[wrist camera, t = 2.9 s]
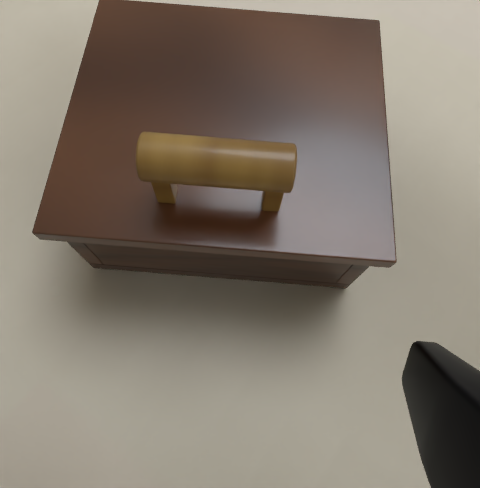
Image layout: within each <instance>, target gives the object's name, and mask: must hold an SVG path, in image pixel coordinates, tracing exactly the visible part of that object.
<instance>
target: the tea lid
mask: <svg viewBox="0 0 480 488" xmlns="http://www.w3.org/2000/svg"><path fill="white" fill-rule="evenodd" d="M32 233H33V234H34V235H35V236H37V237H38V238H39V239H41V240H53V241H65V242H78V243H90V244H103V245H115V246H127V247H140V248H152V249H165V250H177V251H189V252H202V253H214V254H227V255H239V256H251V257H264V258H276V259H289V260H301V261H313V262H326V263H338V264H351V265H363V266H375V267H388V268H389V267H391V266H392V265H394V264H395V263H396V246H395V232H394V218H393V204H392V190H391V176H390V162H389V148H388V134H387V120H386V106H385V92H384V78H383V64H382V50H381V36H380V22H379V20H368V19H355V18H343V17H330V16H318V15H305V14H292V13H280V12H267V11H255V10H242V9H230V8H217V7H204V6H192V5H179V4H167V3H154V2H141V1H129V0H99V3H98V6H97V10H96V13H95V17H94V20H93V24H92V27H91V31H90V34H89V37H88V41H87V44H86V48H85V51H84V55H83V58H82V62H81V65H80V69H79V72H78V75H77V79H76V82H75V86H74V89H73V93H72V96H71V100H70V103H69V107H68V110H67V114H66V117H65V120H64V124H63V127H62V131H61V134H60V138H59V141H58V145H57V148H56V152H55V155H54V159H53V162H52V165H51V169H50V172H49V176H48V179H47V183H46V186H45V190H44V193H43V197H42V200H41V204H40V207H39V210H38V214H37V217H36V221H35V224H34V228H33V231H32Z"/></svg>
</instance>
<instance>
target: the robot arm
mask: <svg viewBox="0 0 480 488" xmlns="http://www.w3.org/2000/svg"><path fill="white" fill-rule="evenodd" d="M402 385H403V389H404V393H405V397H406V401H407V405H408V409H409V413H410V417H411V421H412V425H413V429H414V433H415V437H416V441H417V445H418V449H419V453H420V456H421V460H422V463H423V466H424V469H425V472H426V475H427V478H428V481H429V483H430V486H431V488H480V371H479V370H477V369H475V368H474V367H472V366H471V365H469V364H468V363H466V362H465V361H463V360H462V359H460V358H459V357H457V356H456V355H454V354H453V353H451V352H450V351H448V350H447V349H445V348H444V347H442V346H441V345H439V344H437V343H434V342H423V341H416V342H414V343H413V344H412V346H411V348H410V351H409V355H408V358H407V361H406V364H405V368H404V371H403V375H402Z"/></svg>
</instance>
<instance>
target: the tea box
mask: <svg viewBox="0 0 480 488" xmlns="http://www.w3.org/2000/svg"><path fill="white" fill-rule="evenodd" d="M68 243H69V244H70V245H71V246H72V247H73V248H74V249H75V250H76V251H77V252H78V253H79V254H80V255H81V256H82V257H83V258H84V259H85V260H86V261H87V262H88V263H89V264H90V265H91V266H92V267H94V268H102V269H115V270H127V271H139V272H152V273H164V274H176V275H189V276H201V277H214V278H226V279H238V280H251V281H263V282H275V283H288V284H300V285H313V286H325V287H337V288H347V287H348V286H349V285H350V284H351V283H352V282H353V281H354V280H355V279H357V278H358V277H359V276H360V275H361V274H362V273H363V272H364V271H365V270H366V269H367V268H368V267H369V266H363V265H351V264H338V263H326V262H313V261H301V260H289V259H276V258H264V257H251V256H239V255H227V254H214V253H202V252H189V251H177V250H165V249H152V248H140V247H127V246H115V245H103V244H90V243H78V242H68Z"/></svg>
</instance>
